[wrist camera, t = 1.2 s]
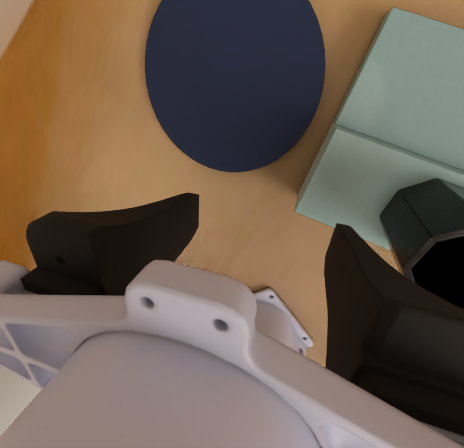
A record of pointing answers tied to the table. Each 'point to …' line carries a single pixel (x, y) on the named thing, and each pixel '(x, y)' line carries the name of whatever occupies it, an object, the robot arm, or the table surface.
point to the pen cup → (429, 236)
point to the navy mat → (235, 77)
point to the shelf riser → (391, 126)
